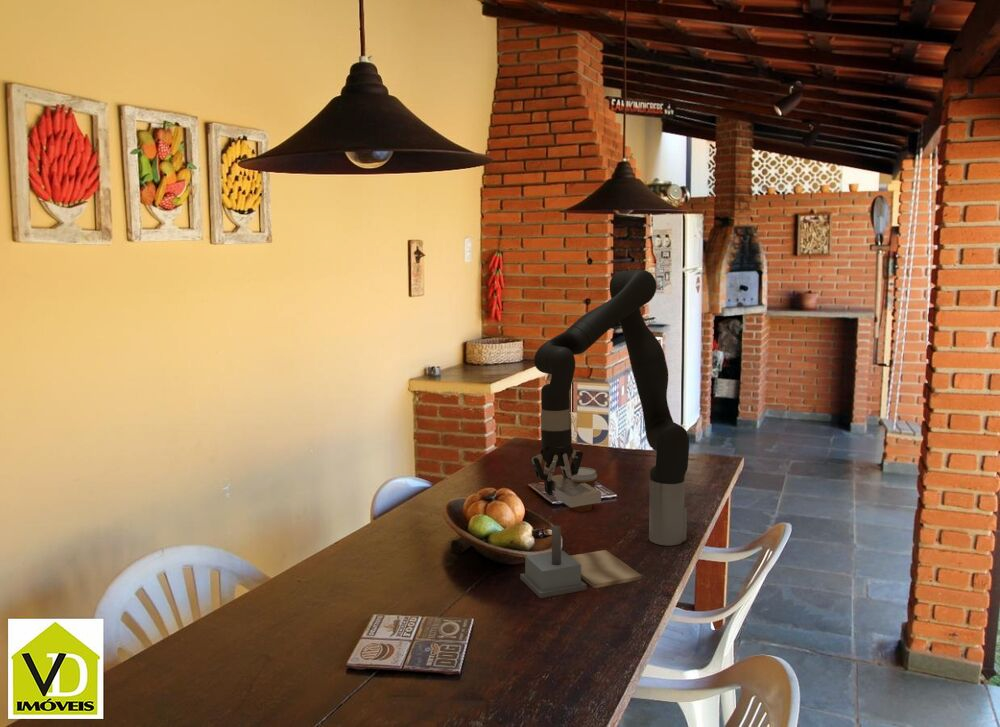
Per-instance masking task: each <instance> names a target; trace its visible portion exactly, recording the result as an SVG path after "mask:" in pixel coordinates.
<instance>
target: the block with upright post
mask: <svg viewBox="0 0 1000 727" xmlns="http://www.w3.org/2000/svg"><path fill="white" fill-rule="evenodd" d="M571 556H572V555H570V554H568V553H567V552H565V550H563V549H562V526H561V525H557V524H554V525H551V551H548V552H542V553H536V554H530V555H529V554H528V555H525V557H524V559H525V560H524V563H525V565H524V566H525V568H524V569H525V570H524V573H520V574H519V579H520V581H522V583H524V584H525V585H526V586H527V587H528V588H529V589H530V590H531V591H532V592H533V593H534V594H535V595H536V596H537V597H538V598H539V599H545V598H550V597H556V596H561V595H566V594H571V593H577V592H582V591H587V590H588V587H587V583H585V582H584V581H582V578H581V564H580V563H578V562H577V561H576V560H575V559H573V558H572V557H571Z"/></svg>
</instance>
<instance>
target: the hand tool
mask: <svg viewBox="0 0 1000 727" xmlns="http://www.w3.org/2000/svg"><path fill="white" fill-rule="evenodd" d="M450 547H451V548H450V549H451V551H452V553H454V554H458V555H462V554H463V553H465V552H466V550H468V549H470V548H472V547H471V546H470V545H469V544H468V543H467V542H466V541H465V540H464V539H463V538H461V537H459V538H457V539H452V540H451V544H450Z"/></svg>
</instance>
